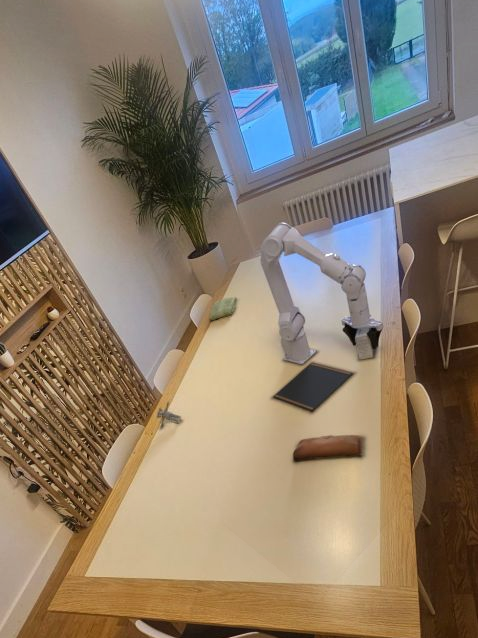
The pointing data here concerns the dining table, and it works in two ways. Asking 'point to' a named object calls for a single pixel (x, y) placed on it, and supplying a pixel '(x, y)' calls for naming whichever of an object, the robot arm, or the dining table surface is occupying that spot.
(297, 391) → the slate mat
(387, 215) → the dining table surface
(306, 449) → the sunglasses case
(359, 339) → the medicine box
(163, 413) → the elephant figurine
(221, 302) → the washcloth
